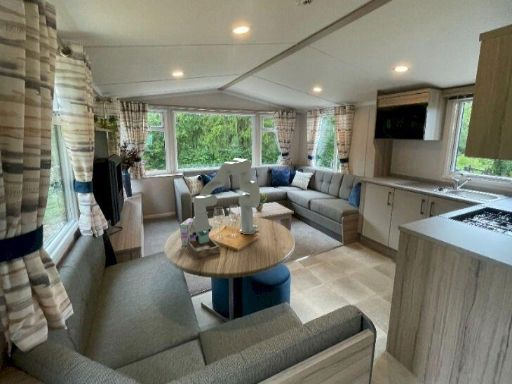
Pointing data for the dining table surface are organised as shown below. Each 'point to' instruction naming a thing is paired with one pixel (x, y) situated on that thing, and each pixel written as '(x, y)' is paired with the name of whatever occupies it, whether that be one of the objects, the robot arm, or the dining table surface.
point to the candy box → (187, 231)
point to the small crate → (203, 237)
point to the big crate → (203, 248)
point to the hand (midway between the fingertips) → (202, 239)
